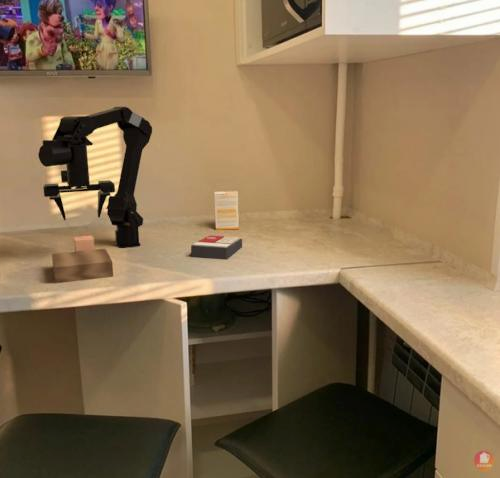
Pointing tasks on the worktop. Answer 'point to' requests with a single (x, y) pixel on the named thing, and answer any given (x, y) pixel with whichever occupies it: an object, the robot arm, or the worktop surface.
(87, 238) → the terracotta block
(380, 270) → the worktop surface
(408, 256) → the worktop surface
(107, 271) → the walnut base
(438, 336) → the worktop surface
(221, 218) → the supplement box
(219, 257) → the red white black box
